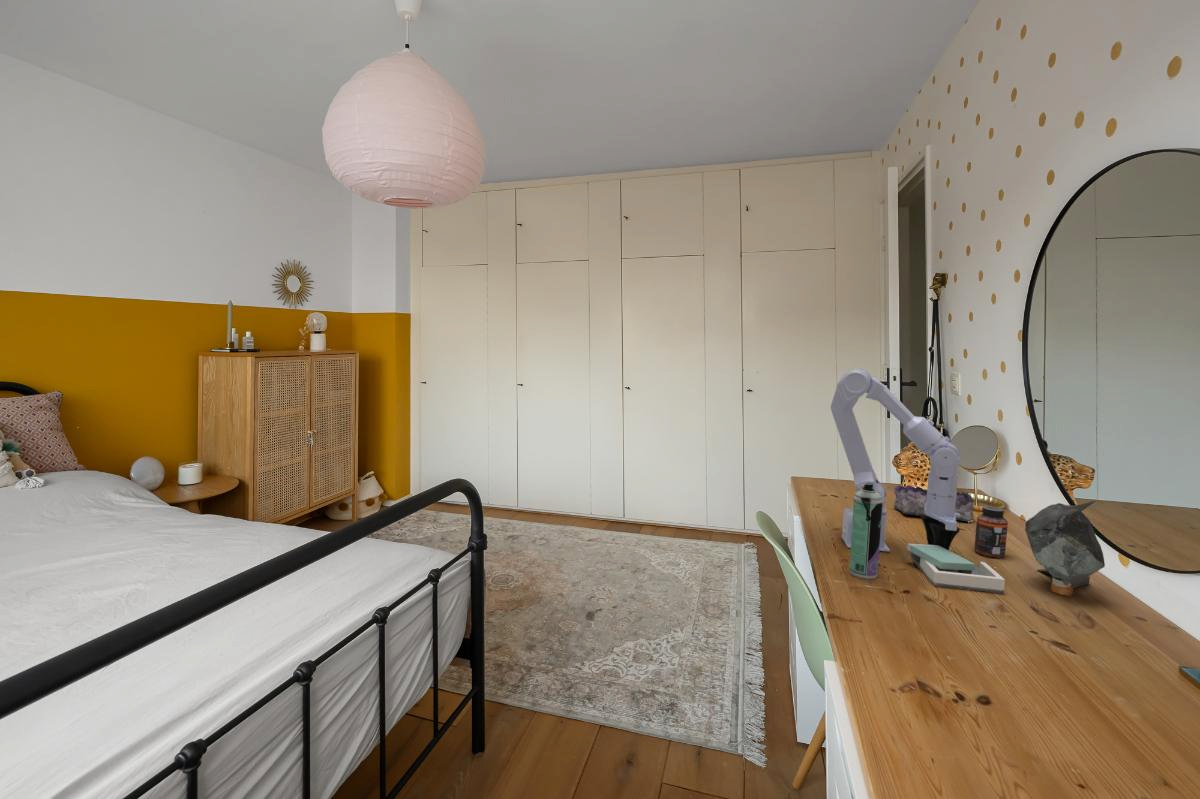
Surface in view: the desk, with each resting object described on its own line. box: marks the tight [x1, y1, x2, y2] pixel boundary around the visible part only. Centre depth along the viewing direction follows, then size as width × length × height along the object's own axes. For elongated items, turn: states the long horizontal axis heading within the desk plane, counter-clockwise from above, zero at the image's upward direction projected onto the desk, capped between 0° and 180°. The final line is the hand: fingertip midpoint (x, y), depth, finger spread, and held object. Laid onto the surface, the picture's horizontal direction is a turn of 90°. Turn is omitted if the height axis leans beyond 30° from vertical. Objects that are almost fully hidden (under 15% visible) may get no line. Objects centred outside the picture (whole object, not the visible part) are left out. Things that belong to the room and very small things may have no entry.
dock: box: [911, 557, 1006, 595], centre depth 113 cm, size 12×14×3 cm
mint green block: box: [906, 543, 976, 574], centre depth 115 cm, size 8×11×3 cm
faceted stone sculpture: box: [1024, 500, 1106, 597], centre depth 107 cm, size 14×15×18 cm
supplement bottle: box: [973, 505, 1009, 559], centre depth 125 cm, size 6×6×11 cm
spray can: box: [849, 483, 883, 580], centre depth 113 cm, size 6×6×20 cm
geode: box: [893, 484, 975, 523], centre depth 154 cm, size 20×12×10 cm, turn 65°
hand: (937, 550), depth 123 cm, fingers open, 4 cm apart
